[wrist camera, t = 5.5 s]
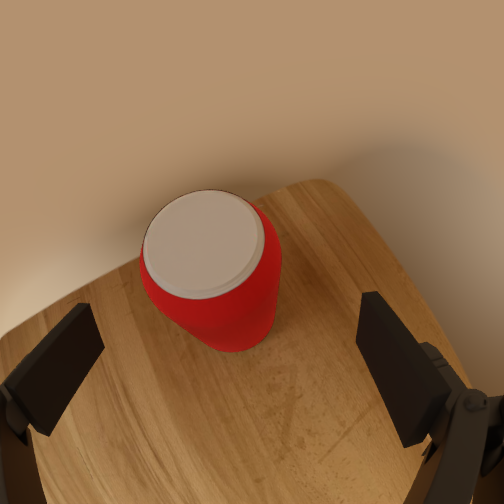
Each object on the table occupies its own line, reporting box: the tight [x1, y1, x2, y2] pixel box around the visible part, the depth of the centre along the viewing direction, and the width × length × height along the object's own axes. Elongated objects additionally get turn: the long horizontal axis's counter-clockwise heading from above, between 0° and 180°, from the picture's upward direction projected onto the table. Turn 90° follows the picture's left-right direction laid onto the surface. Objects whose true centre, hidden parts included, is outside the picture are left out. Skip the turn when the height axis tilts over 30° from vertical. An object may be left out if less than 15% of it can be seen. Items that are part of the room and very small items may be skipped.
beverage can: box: [140, 190, 282, 352], centre depth 16 cm, size 6×6×12 cm
